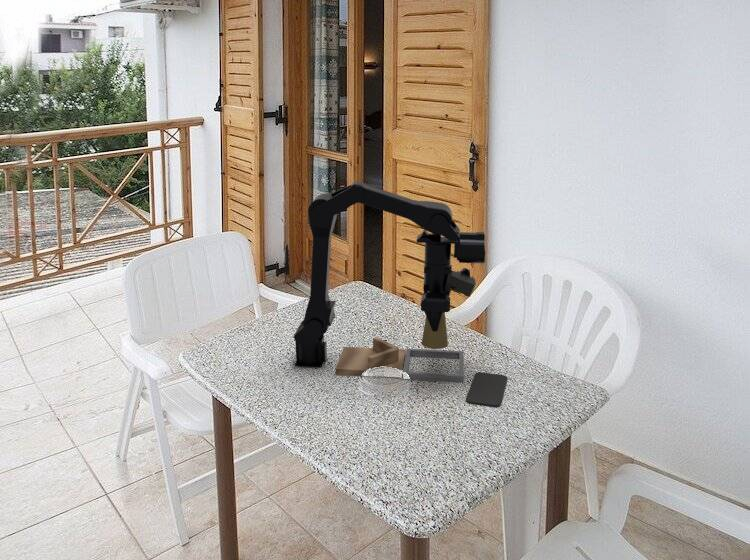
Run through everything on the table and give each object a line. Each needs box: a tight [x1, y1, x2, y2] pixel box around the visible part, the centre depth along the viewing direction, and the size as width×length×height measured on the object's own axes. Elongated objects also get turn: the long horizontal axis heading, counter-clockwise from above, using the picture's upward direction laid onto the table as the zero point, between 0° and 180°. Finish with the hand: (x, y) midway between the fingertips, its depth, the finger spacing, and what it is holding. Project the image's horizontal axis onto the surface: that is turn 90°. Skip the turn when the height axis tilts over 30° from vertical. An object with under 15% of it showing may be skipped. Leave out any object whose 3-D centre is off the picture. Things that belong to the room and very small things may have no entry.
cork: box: [421, 312, 449, 350], centre depth 163 cm, size 6×6×11 cm
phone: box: [465, 371, 508, 408], centre depth 156 cm, size 7×1×15 cm
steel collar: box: [403, 348, 465, 383], centre depth 166 cm, size 14×14×2 cm
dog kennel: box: [335, 336, 407, 377], centre depth 167 cm, size 15×12×4 cm
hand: (435, 327), depth 163 cm, fingers closed on cork, 4 cm apart
